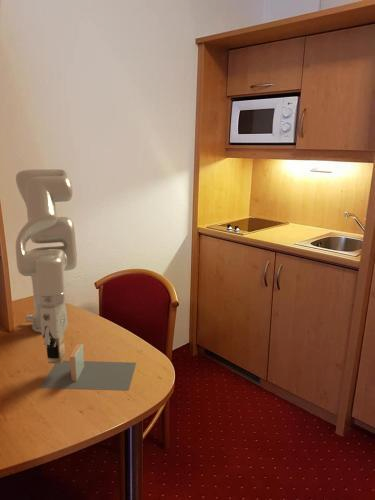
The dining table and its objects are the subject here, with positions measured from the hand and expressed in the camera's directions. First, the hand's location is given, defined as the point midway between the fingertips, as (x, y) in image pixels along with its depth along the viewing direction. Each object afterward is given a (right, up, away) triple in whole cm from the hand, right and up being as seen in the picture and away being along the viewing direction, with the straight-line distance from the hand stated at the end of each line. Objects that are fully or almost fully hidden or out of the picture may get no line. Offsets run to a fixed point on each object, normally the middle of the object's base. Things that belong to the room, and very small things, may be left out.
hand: (56, 353), depth 122 cm
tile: (+6, -7, +2) cm, 9 cm away
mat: (+10, -7, +1) cm, 13 cm away
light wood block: (0, -2, +1) cm, 2 cm away
